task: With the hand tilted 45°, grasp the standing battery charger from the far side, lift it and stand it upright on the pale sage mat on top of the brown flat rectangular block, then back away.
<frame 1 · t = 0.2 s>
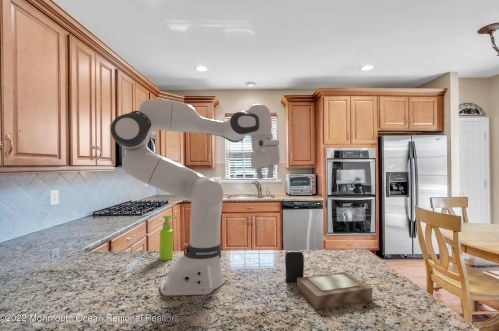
hand: (265, 178, 97), 39 cm above the countertop, tool pointing down, fingers open, 8 cm apart
battery charger: (294, 281, 91), on the countertop
soap dispenser: (167, 258, 114), on the countertop
brown flat rectangular block: (333, 294, 81), on the countertop
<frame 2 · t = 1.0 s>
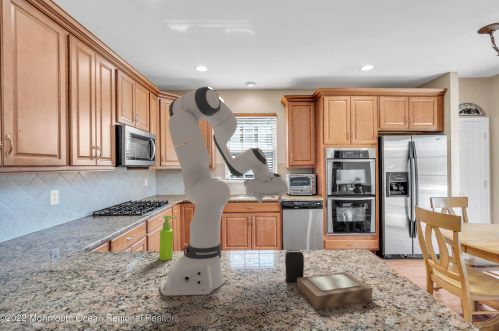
hand: (270, 201, 109), 28 cm above the countertop, tool tilted 45°, fingers open, 8 cm apart
nothing on the countertop moved.
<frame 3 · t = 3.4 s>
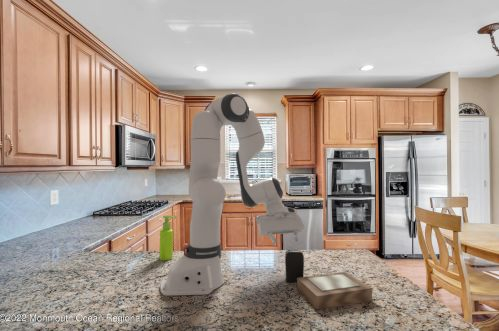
hand: (285, 242, 99), 12 cm above the countertop, tool tilted 45°, fingers open, 8 cm apart
nothing on the countertop moved.
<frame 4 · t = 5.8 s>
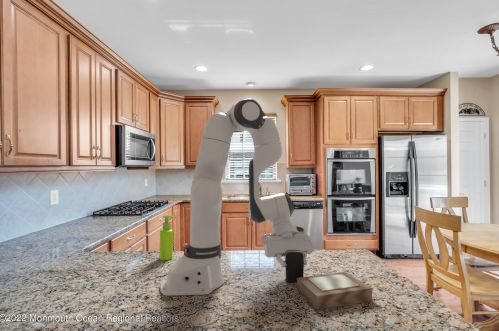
hand: (294, 265, 91), 6 cm above the countertop, tool tilted 45°, fingers closed on battery charger, 7 cm apart
battery charger: (294, 281, 91), on the countertop, touching gripper
everything else where it was.
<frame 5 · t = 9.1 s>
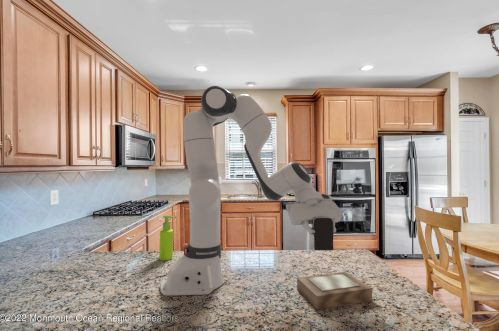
hand: (323, 232, 84), 20 cm above the countertop, tool tilted 45°, fingers closed on battery charger, 7 cm apart
battery charger: (322, 249, 85), point 14 cm above the countertop, touching gripper
everything else where it was.
when the fingers open (12 cm above the countertop, at t = 11.8 s): battery charger drops 1 cm, resting on brown flat rectangular block.
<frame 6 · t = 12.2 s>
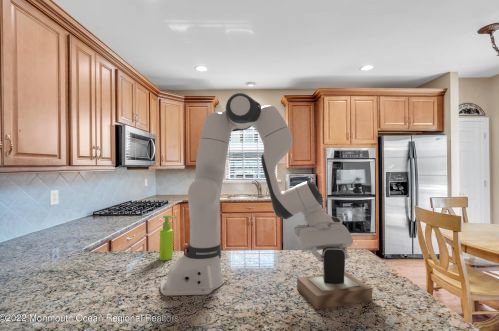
hand: (334, 259, 80), 12 cm above the countertop, tool tilted 45°, fingers open, 8 cm apart
battery charger: (332, 281, 81), point 4 cm above the countertop, touching brown flat rectangular block
everything else where it was.
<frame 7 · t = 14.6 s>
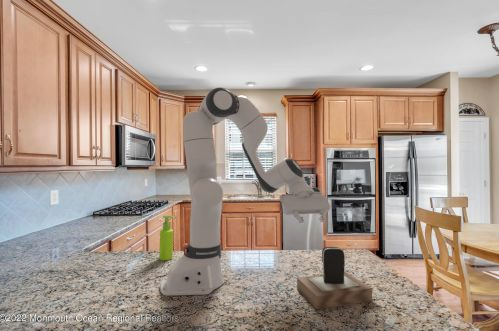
hand: (312, 221, 94), 22 cm above the countertop, tool tilted 45°, fingers open, 8 cm apart
nothing on the countertop moved.
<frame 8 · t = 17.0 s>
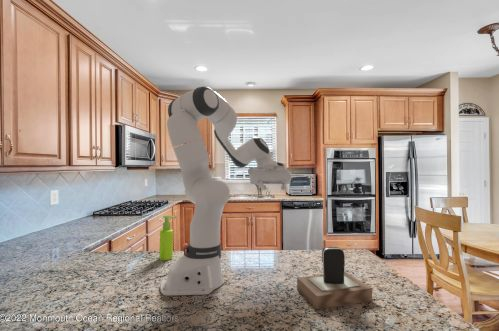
hand: (274, 189, 110), 33 cm above the countertop, tool tilted 45°, fingers open, 8 cm apart
nothing on the countertop moved.
at the end: battery charger inside the target area on the brown flat rectangular block (0.1 cm from its centre), point 4.1 cm above the brown flat rectangular block's base; battery charger tilted 0°; the gripper is holding nothing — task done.
